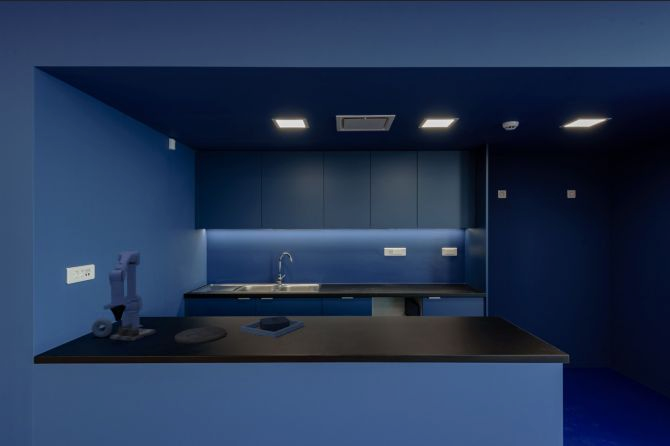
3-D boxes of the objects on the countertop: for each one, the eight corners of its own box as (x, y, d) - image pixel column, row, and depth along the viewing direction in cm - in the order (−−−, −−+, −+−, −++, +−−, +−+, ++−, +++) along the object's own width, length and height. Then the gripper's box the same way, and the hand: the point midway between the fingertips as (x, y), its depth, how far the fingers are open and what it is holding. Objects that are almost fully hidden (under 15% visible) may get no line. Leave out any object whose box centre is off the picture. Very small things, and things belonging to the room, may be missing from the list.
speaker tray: (240, 331, 201) (240, 326, 201) (271, 321, 221) (270, 317, 221) (274, 337, 188) (274, 332, 188) (303, 326, 209) (303, 321, 209)
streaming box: (291, 331, 201) (291, 321, 201) (264, 334, 195) (264, 324, 195) (284, 324, 214) (284, 315, 214) (259, 328, 208) (258, 318, 208)
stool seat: (109, 338, 194) (109, 330, 194) (133, 330, 208) (133, 322, 208) (132, 340, 189) (132, 332, 189) (155, 332, 203) (155, 324, 203)
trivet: (235, 335, 195) (235, 332, 195) (189, 348, 176) (188, 344, 176) (211, 327, 212) (211, 324, 212) (166, 338, 193) (166, 334, 193)
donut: (114, 335, 199) (113, 316, 199) (110, 337, 195) (110, 318, 196) (94, 336, 198) (94, 317, 198) (90, 338, 195) (90, 319, 195)
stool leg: (116, 334, 195) (116, 327, 195) (121, 333, 198) (121, 325, 198) (134, 336, 191) (134, 328, 191) (139, 334, 194) (138, 327, 194)
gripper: (111, 296, 180) (111, 325, 180) (135, 291, 194) (136, 317, 194) (100, 296, 182) (100, 324, 182) (125, 291, 196) (125, 317, 196)
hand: (118, 321), depth 188 cm, fingers closed
